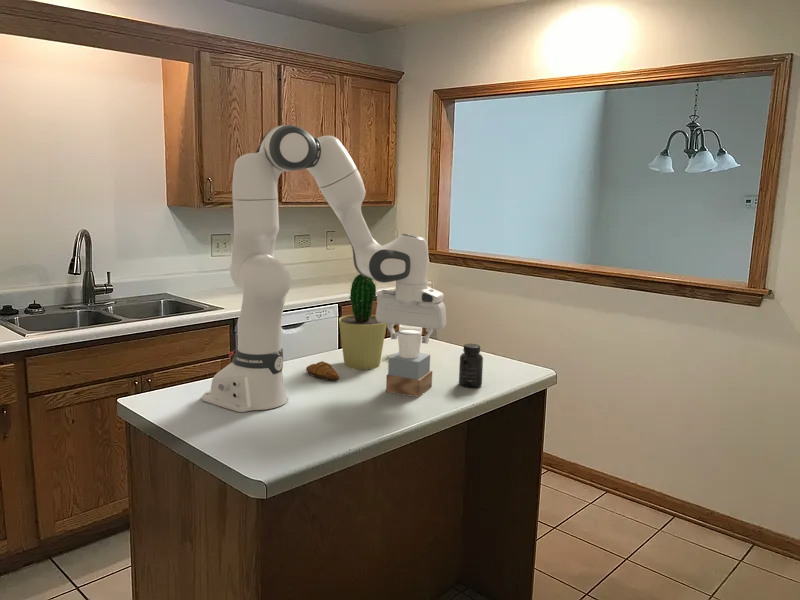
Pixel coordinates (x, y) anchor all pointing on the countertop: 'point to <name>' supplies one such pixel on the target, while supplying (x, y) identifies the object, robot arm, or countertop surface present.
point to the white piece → (409, 343)
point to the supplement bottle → (471, 366)
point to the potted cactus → (362, 327)
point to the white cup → (402, 327)
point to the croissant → (323, 371)
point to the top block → (409, 366)
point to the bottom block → (409, 384)
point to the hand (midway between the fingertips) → (409, 340)
